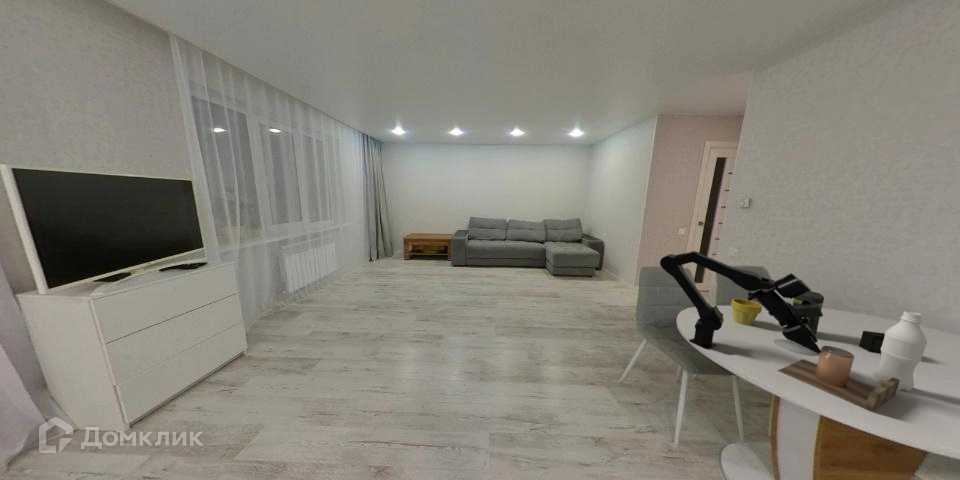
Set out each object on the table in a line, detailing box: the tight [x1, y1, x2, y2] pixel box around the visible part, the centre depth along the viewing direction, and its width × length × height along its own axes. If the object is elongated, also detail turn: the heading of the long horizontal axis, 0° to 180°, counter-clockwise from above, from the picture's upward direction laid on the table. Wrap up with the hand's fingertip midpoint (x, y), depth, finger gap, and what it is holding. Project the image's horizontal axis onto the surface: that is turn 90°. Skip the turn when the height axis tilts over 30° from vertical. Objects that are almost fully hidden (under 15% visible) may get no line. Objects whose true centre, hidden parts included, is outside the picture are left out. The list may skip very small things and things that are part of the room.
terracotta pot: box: [815, 345, 855, 388], centre depth 88 cm, size 6×6×10 cm
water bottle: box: [872, 310, 928, 392], centre depth 86 cm, size 7×7×25 cm
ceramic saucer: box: [773, 338, 820, 357], centre depth 109 cm, size 12×12×1 cm
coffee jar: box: [791, 290, 825, 336], centre depth 121 cm, size 10×8×19 cm
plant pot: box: [730, 298, 763, 326], centre depth 131 cm, size 10×10×10 cm
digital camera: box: [858, 330, 885, 354], centre depth 107 cm, size 10×5×7 cm, turn 71°
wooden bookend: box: [777, 358, 900, 413], centre depth 88 cm, size 18×19×6 cm
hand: (818, 347), depth 90 cm, fingers open, 9 cm apart
